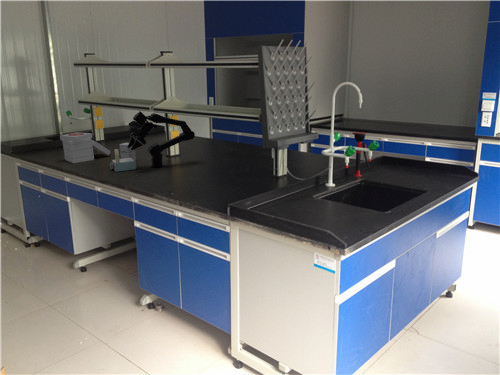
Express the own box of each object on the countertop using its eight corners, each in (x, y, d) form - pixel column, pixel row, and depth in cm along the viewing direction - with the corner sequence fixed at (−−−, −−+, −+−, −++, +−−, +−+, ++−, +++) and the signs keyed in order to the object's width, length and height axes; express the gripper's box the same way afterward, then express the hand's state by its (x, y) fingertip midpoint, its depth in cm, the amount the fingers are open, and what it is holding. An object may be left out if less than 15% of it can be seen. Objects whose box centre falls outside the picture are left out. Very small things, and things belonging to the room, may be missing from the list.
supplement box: (120, 162, 295) (118, 144, 291) (128, 160, 301) (126, 142, 297) (128, 163, 291) (127, 145, 288) (136, 161, 298) (134, 143, 294)
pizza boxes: (112, 157, 312) (109, 132, 307) (71, 164, 292) (67, 137, 287) (101, 153, 325) (98, 129, 320) (60, 160, 306) (57, 134, 301)
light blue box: (131, 165, 284) (130, 157, 283) (135, 169, 276) (134, 160, 274) (109, 168, 278) (108, 160, 276) (112, 171, 270) (111, 163, 268)
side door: (136, 168, 276) (134, 147, 272) (137, 169, 274) (135, 147, 270) (115, 170, 270) (113, 149, 267) (116, 171, 268) (114, 150, 264)
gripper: (132, 119, 275) (116, 138, 274) (139, 123, 259) (122, 143, 258) (145, 130, 281) (130, 149, 279) (153, 134, 265) (136, 154, 263)
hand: (129, 148), depth 270 cm, fingers open, 9 cm apart
